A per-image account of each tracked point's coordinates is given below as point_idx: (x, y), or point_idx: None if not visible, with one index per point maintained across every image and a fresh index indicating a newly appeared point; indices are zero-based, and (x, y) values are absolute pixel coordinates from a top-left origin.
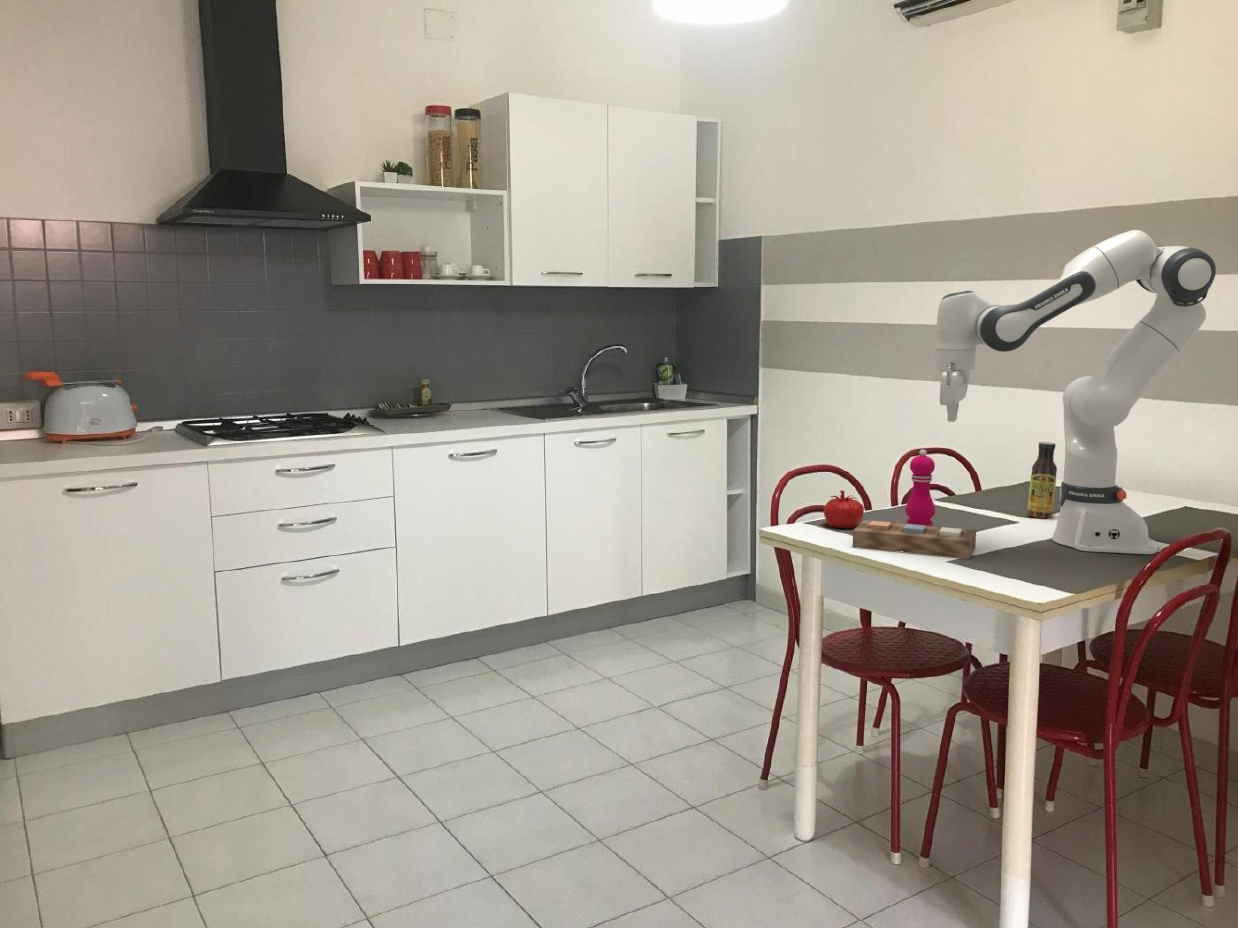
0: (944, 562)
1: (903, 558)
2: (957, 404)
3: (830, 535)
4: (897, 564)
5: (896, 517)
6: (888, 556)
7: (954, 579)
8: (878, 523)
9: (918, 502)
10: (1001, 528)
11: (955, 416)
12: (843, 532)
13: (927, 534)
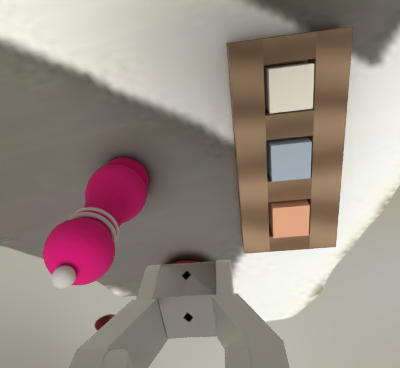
0: (382, 67)
1: (375, 141)
2: (127, 365)
3: (261, 273)
4: None
5: None
6: (369, 167)
7: None
8: (292, 224)
9: (134, 201)
10: (24, 32)
11: (232, 281)
12: (232, 265)
13: (317, 128)
